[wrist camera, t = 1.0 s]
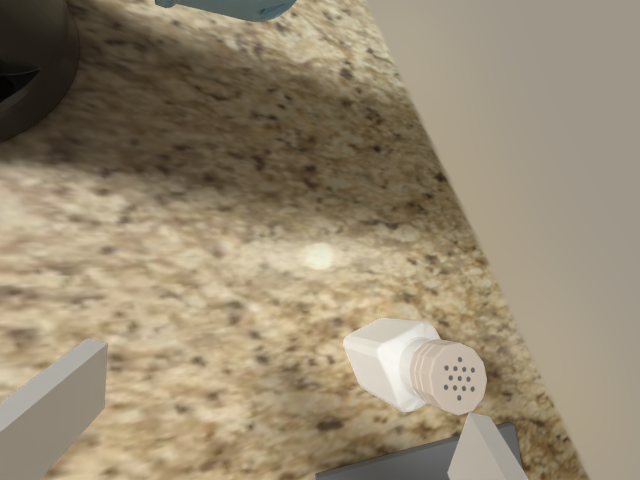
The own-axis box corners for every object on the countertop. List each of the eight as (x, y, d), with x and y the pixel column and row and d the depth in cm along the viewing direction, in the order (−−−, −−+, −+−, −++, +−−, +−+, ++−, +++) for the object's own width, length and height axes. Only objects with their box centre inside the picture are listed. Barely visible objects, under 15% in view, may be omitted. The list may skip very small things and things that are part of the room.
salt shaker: (359, 390, 24) (444, 443, 15) (337, 337, 24) (408, 357, 15) (404, 364, 25) (507, 398, 16) (383, 314, 25) (473, 320, 16)
